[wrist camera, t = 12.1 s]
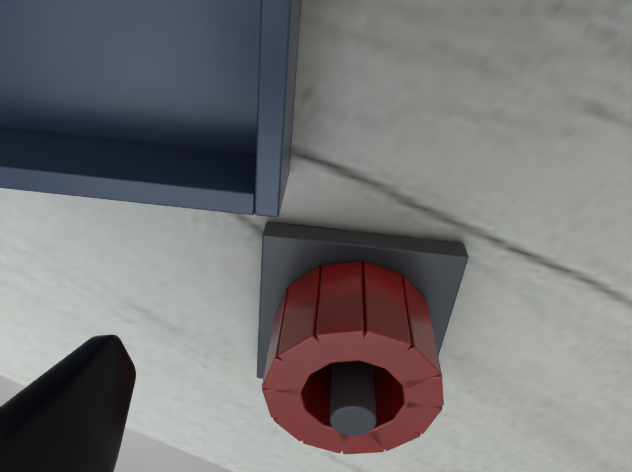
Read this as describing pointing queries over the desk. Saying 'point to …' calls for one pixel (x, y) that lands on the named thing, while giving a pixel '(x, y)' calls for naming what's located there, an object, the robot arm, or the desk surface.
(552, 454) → the desk surface
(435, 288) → the ring stand
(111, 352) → the robot arm
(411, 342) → the ring
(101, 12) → the box
